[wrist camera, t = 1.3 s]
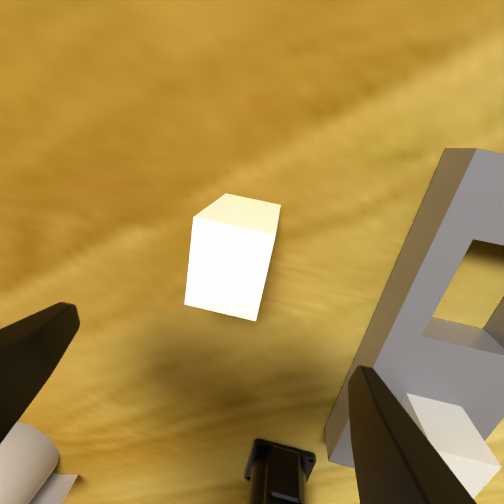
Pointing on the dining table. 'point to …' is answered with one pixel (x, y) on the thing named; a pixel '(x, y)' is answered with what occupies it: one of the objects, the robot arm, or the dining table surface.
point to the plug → (231, 255)
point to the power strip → (440, 325)
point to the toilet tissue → (31, 468)
